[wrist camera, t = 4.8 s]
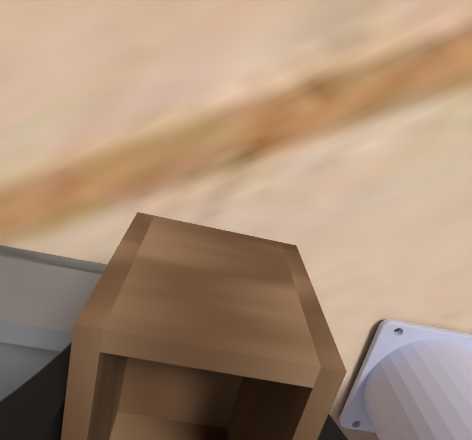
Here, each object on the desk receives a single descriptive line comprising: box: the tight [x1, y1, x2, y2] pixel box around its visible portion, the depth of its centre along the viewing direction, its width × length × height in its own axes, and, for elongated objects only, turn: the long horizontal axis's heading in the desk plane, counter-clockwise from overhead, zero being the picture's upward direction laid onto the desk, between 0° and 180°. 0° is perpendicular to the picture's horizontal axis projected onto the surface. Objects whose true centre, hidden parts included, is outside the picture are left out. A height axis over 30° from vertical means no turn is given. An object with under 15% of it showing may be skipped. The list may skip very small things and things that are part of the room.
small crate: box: [61, 212, 346, 440], centre depth 11 cm, size 5×8×6 cm, turn 166°
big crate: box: [0, 245, 107, 401], centre depth 20 cm, size 12×14×6 cm
